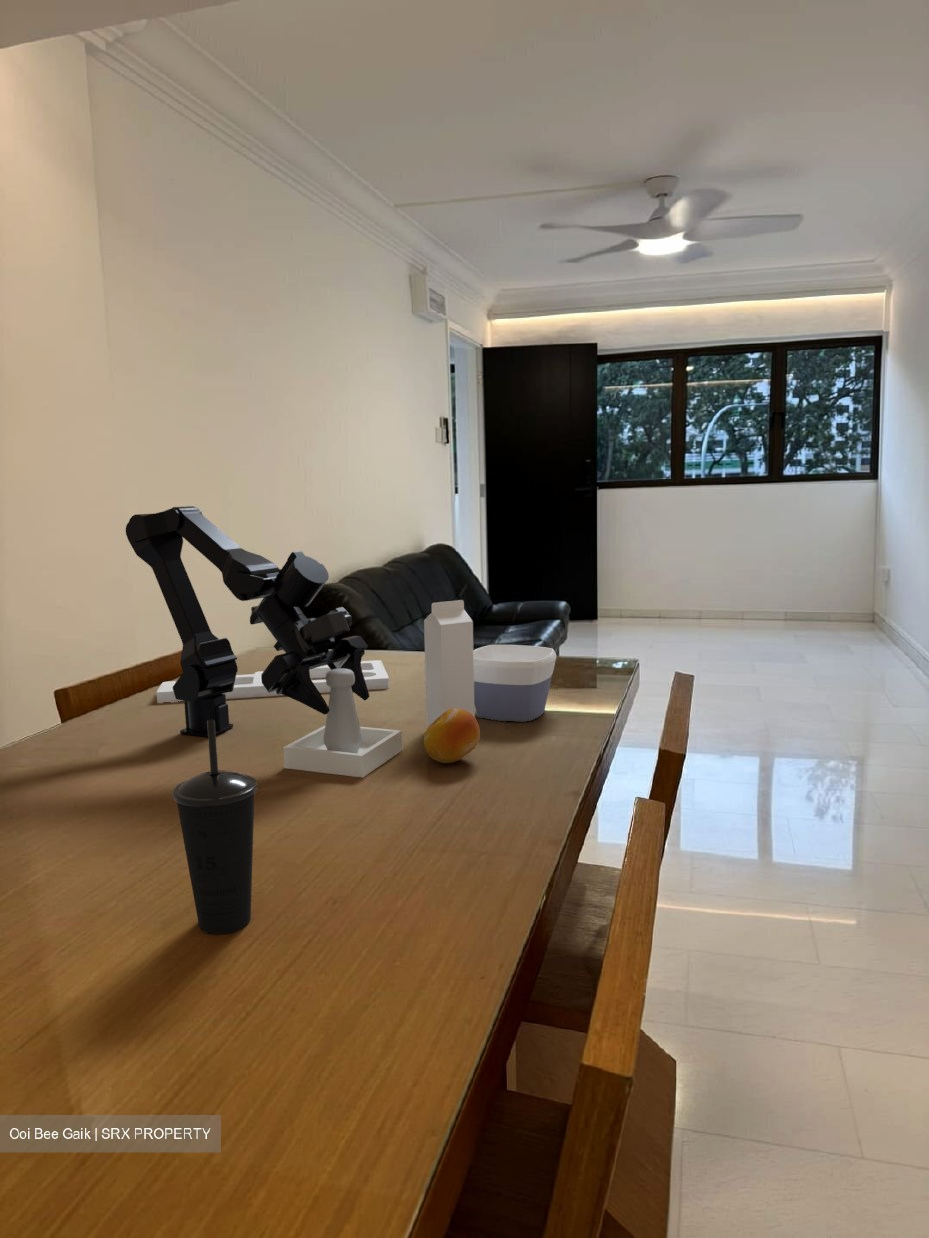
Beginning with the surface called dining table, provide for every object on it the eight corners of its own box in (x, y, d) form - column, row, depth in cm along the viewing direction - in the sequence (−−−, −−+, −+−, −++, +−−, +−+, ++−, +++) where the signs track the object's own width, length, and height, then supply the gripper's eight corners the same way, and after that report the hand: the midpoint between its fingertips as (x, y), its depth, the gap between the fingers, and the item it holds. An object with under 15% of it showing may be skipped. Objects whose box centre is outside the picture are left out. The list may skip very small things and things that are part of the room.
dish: (284, 768, 127) (283, 747, 127) (329, 742, 139) (328, 723, 139) (362, 777, 123) (361, 755, 122) (402, 750, 135) (401, 730, 134)
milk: (475, 734, 143) (473, 602, 139) (442, 739, 140) (440, 605, 136) (457, 725, 148) (455, 597, 144) (425, 730, 145) (423, 600, 142)
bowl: (455, 721, 151) (453, 658, 149) (486, 699, 165) (485, 642, 163) (539, 729, 145) (539, 664, 143) (564, 706, 159) (564, 647, 157)
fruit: (412, 760, 130) (411, 709, 128) (458, 749, 135) (457, 699, 134) (446, 775, 123) (444, 721, 122) (492, 762, 128) (491, 710, 127)
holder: (157, 706, 167) (156, 692, 166) (170, 684, 184) (169, 672, 184) (389, 691, 175) (389, 678, 175) (381, 672, 193) (380, 660, 192)
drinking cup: (193, 904, 87) (178, 711, 83) (270, 900, 87) (258, 708, 84) (174, 945, 79) (157, 734, 76) (259, 939, 80) (246, 730, 77)
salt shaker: (365, 757, 129) (361, 672, 127) (326, 761, 128) (322, 675, 125) (359, 746, 135) (356, 664, 132) (322, 749, 133) (318, 667, 131)
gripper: (271, 600, 121) (334, 685, 117) (355, 585, 137) (414, 660, 133) (235, 650, 127) (294, 733, 123) (320, 630, 142) (375, 703, 138)
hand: (348, 705), depth 129 cm, fingers open, 9 cm apart
